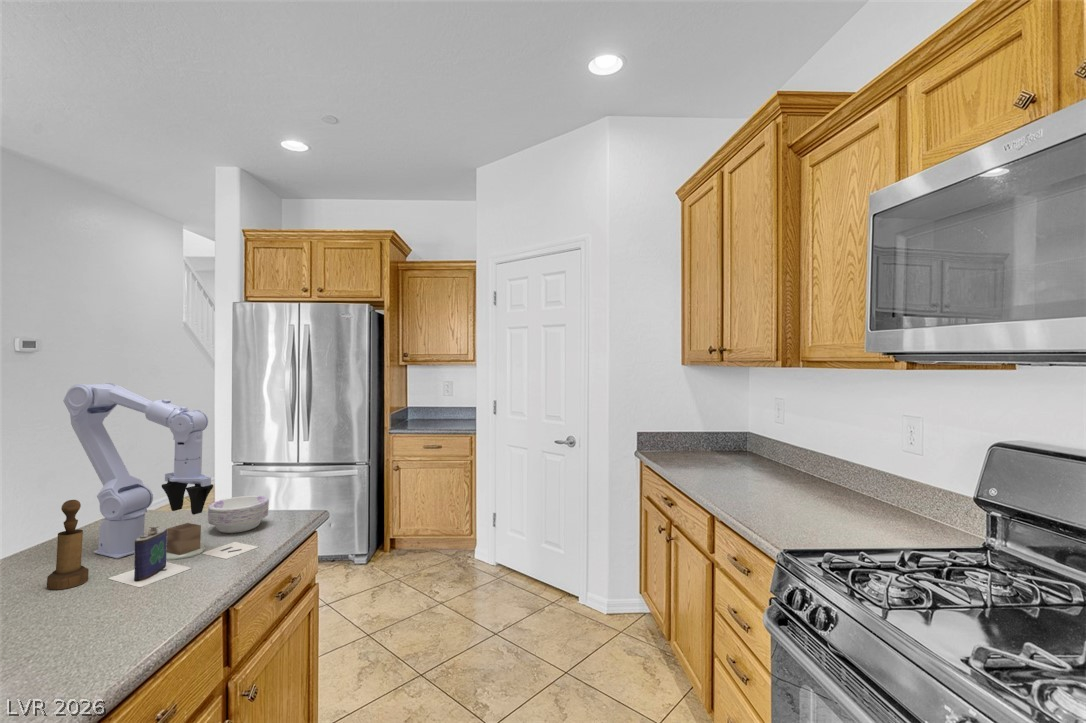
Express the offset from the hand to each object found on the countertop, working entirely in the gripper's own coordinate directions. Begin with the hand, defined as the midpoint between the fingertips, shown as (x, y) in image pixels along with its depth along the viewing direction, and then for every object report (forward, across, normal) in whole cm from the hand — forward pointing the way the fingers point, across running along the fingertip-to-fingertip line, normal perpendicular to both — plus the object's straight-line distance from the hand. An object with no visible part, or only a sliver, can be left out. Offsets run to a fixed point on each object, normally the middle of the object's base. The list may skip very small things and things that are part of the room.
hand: (186, 511), depth 124 cm
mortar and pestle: (+10, -5, -22) cm, 24 cm away
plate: (+10, 0, 0) cm, 10 cm away
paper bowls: (+11, -6, +19) cm, 22 cm away
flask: (+10, +6, -11) cm, 17 cm away
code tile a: (+10, +6, -11) cm, 16 cm away
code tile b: (+10, +9, +6) cm, 15 cm away
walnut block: (+10, 0, 0) cm, 10 cm away
